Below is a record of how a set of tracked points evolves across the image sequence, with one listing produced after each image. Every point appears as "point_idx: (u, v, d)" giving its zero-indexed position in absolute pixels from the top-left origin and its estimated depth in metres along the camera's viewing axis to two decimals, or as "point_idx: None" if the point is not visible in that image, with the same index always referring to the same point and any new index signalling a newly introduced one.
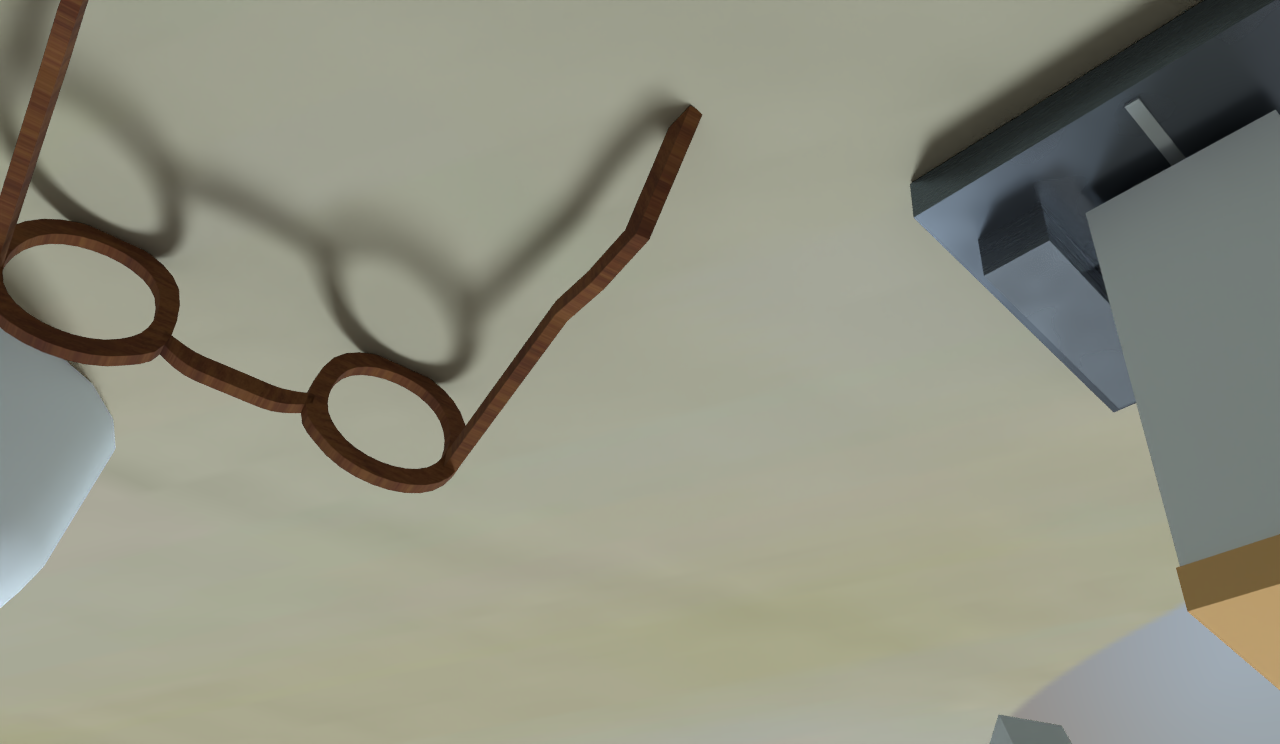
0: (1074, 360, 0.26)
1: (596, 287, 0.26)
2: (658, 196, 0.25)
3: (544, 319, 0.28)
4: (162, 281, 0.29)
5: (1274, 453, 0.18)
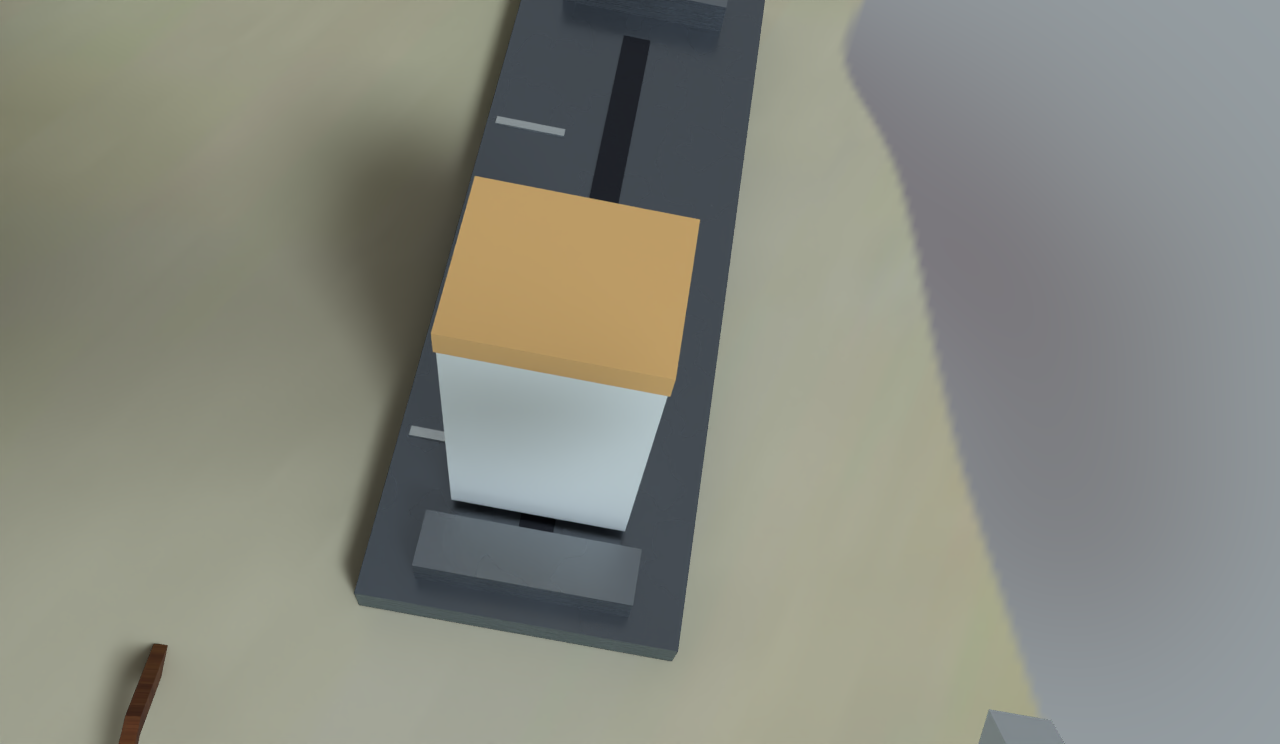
0: (550, 587, 0.29)
1: None
2: (141, 691, 0.28)
3: None
4: None
5: None
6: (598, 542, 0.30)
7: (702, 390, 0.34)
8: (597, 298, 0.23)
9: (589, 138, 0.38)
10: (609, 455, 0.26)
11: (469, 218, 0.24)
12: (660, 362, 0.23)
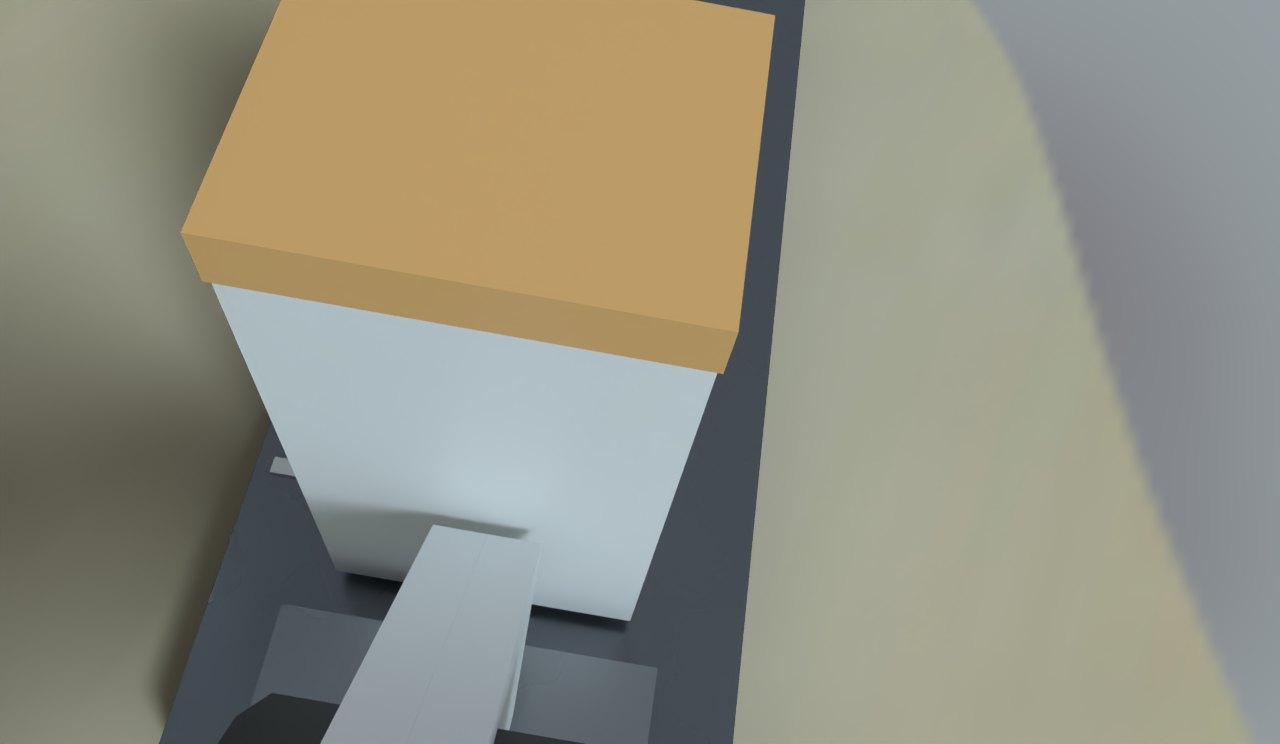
0: None
1: None
2: None
3: None
4: None
5: None
6: (582, 656, 0.17)
7: (750, 394, 0.21)
8: (562, 162, 0.11)
9: None
10: (599, 498, 0.14)
11: (293, 6, 0.11)
12: (703, 295, 0.10)
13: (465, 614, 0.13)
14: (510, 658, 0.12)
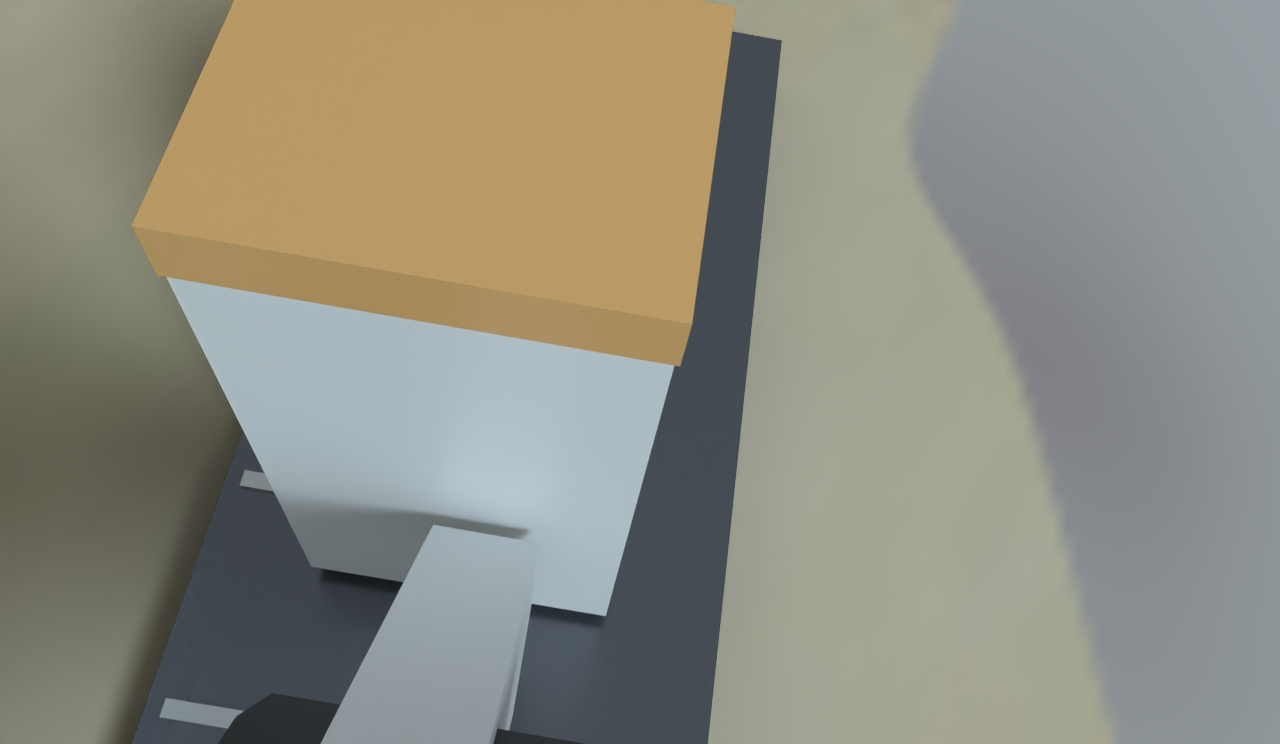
0: None
1: None
2: None
3: None
4: None
5: None
6: None
7: None
8: (517, 154, 0.11)
9: None
10: (566, 493, 0.14)
11: None
12: (657, 287, 0.10)
13: (465, 614, 0.13)
14: (510, 658, 0.12)
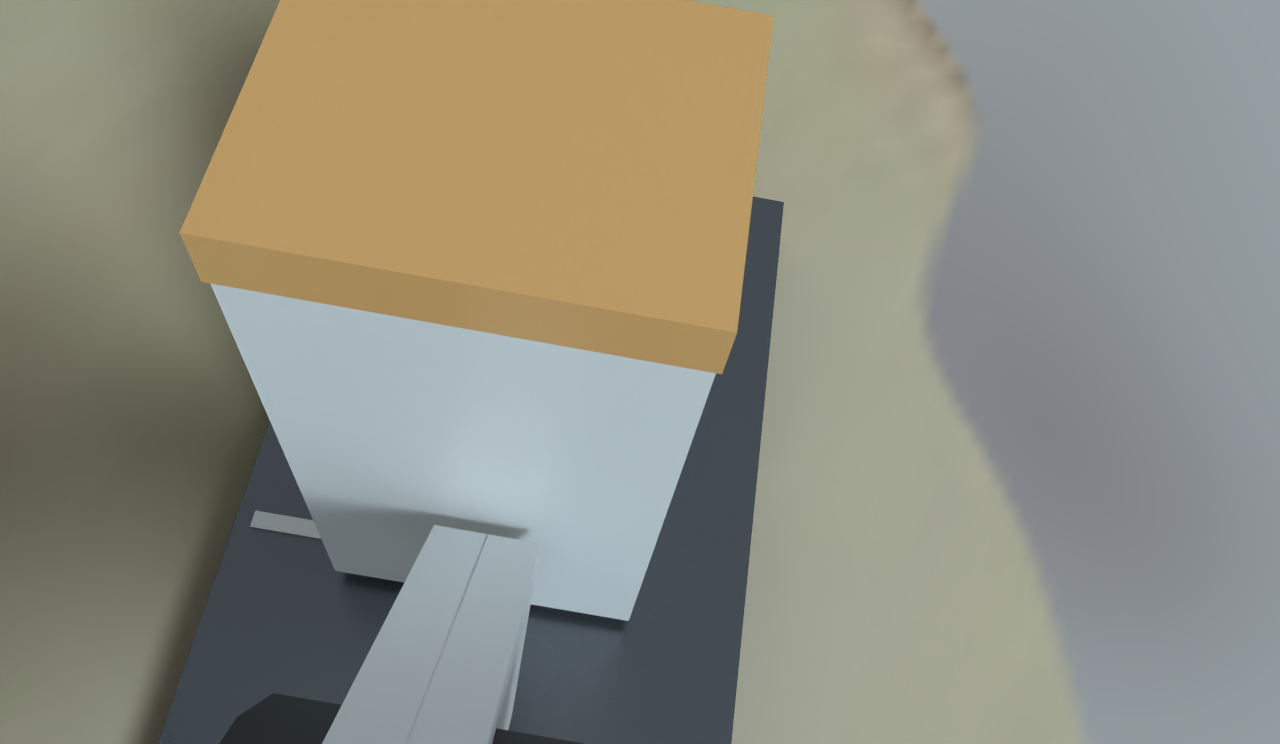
0: None
1: None
2: None
3: None
4: None
5: None
6: None
7: None
8: (561, 162, 0.11)
9: None
10: (597, 499, 0.14)
11: (292, 6, 0.11)
12: (702, 295, 0.10)
13: (466, 615, 0.13)
14: (509, 658, 0.12)
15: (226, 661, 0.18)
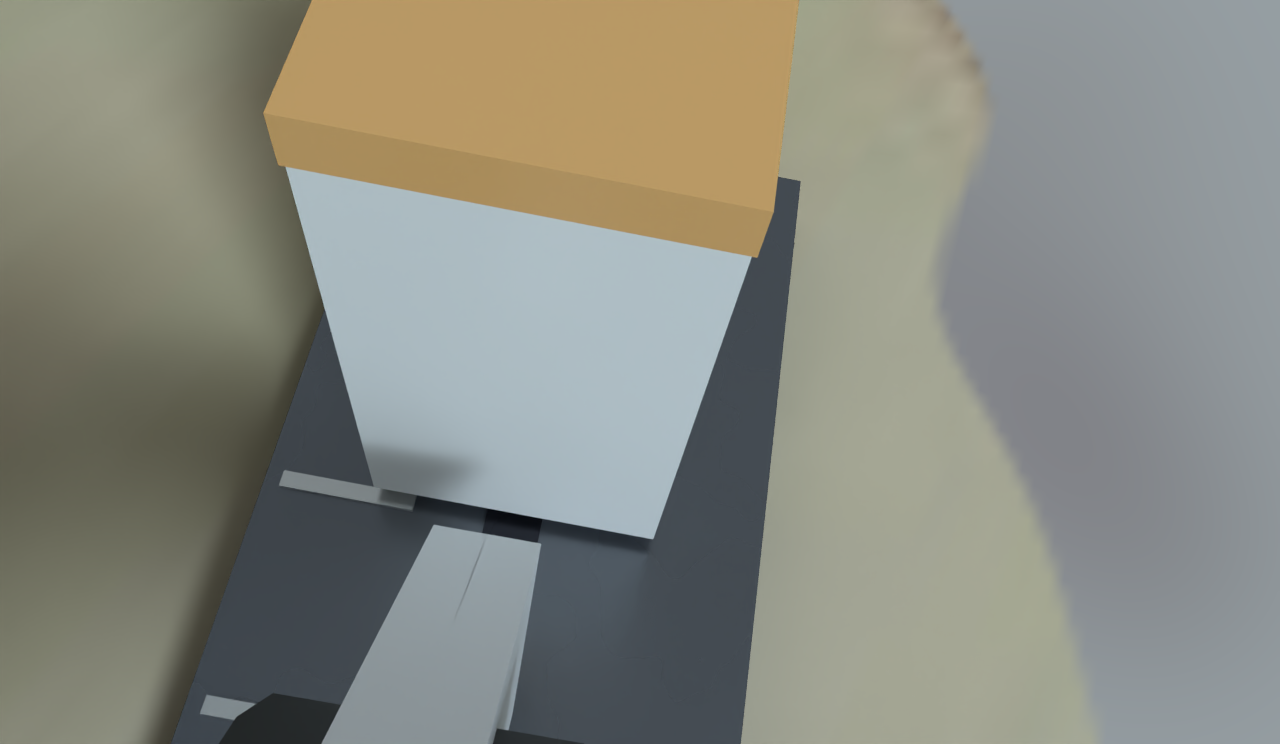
0: None
1: None
2: None
3: None
4: None
5: None
6: None
7: None
8: (610, 60, 0.12)
9: (463, 511, 0.20)
10: (632, 399, 0.15)
11: None
12: (741, 178, 0.11)
13: (466, 614, 0.13)
14: (509, 658, 0.12)
15: (255, 614, 0.18)
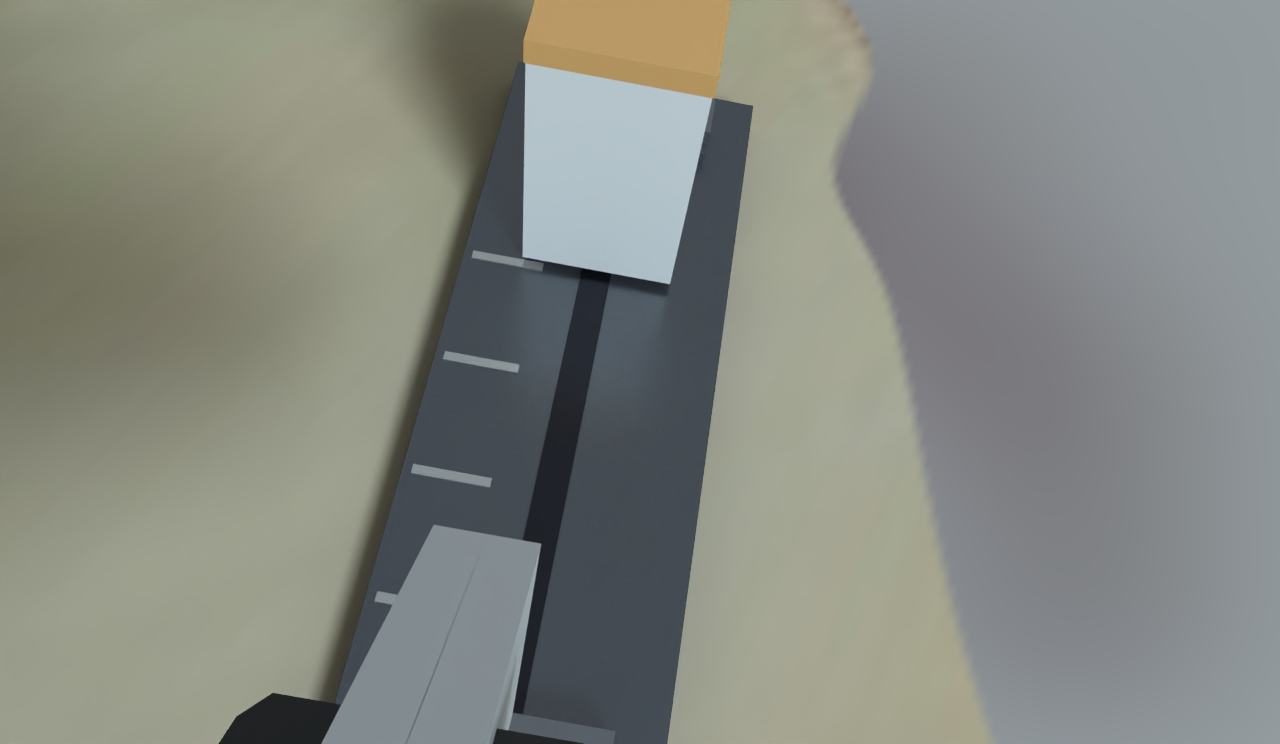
0: None
1: None
2: None
3: None
4: None
5: None
6: (570, 723, 0.29)
7: (682, 546, 0.32)
8: (655, 20, 0.29)
9: (568, 272, 0.37)
10: (661, 182, 0.32)
11: None
12: (707, 64, 0.28)
13: (466, 614, 0.13)
14: (509, 658, 0.12)
15: (465, 316, 0.35)
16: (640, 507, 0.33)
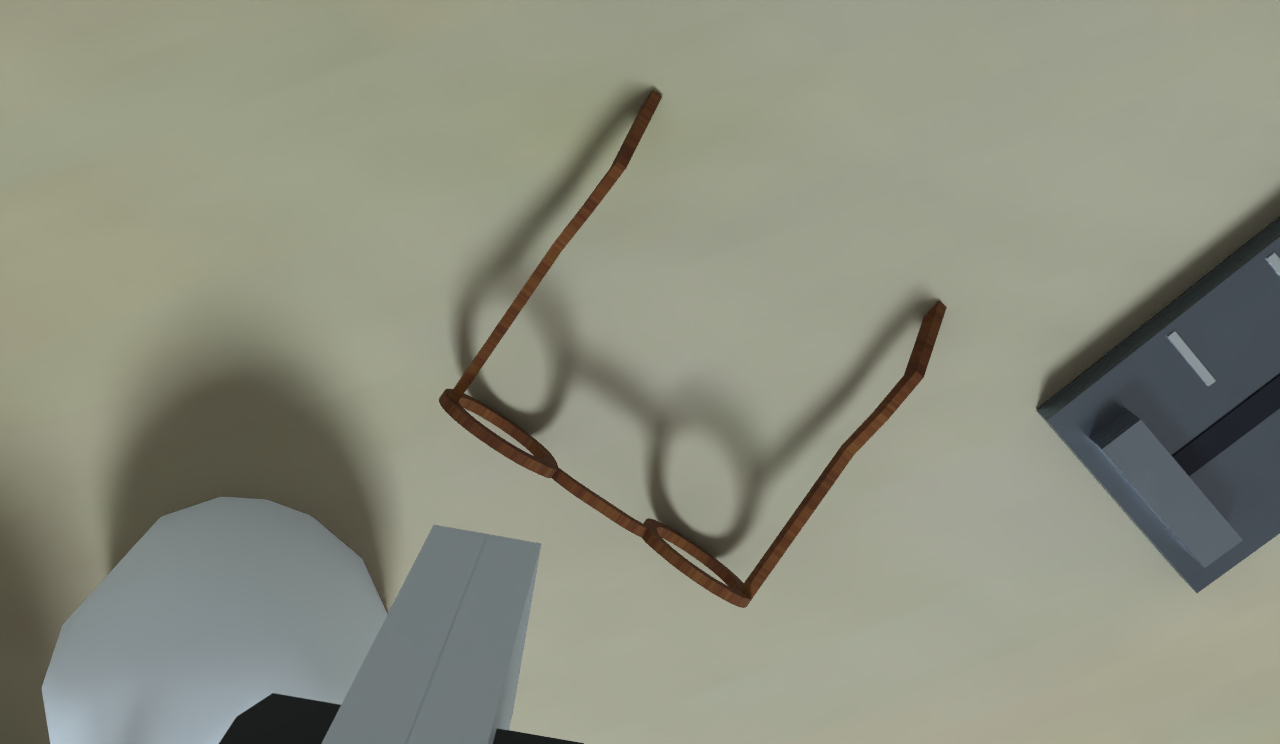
0: (1168, 522, 0.38)
1: (883, 417, 0.37)
2: (926, 351, 0.38)
3: (832, 459, 0.38)
4: (538, 445, 0.40)
5: None
6: (1222, 515, 0.38)
7: None
8: None
9: None
10: None
11: None
12: None
13: (466, 614, 0.13)
14: (509, 658, 0.12)
15: None
16: None
